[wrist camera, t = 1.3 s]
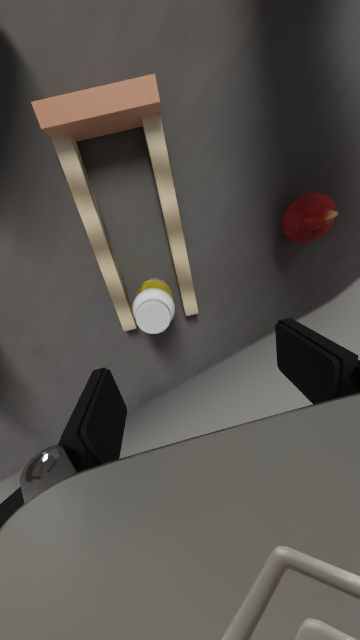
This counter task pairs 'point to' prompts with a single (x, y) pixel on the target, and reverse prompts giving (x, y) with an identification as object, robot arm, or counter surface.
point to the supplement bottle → (153, 306)
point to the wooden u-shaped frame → (65, 130)
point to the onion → (309, 217)
